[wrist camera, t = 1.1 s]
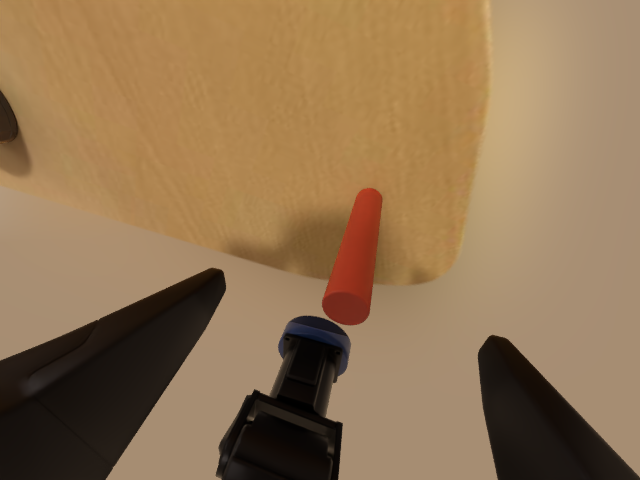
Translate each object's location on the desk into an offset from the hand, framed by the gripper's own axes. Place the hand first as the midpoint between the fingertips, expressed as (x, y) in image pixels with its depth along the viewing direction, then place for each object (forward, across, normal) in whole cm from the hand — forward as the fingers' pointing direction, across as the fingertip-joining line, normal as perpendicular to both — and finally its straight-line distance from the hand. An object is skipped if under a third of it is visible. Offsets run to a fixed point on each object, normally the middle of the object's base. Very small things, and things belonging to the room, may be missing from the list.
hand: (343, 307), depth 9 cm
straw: (+9, 0, 0) cm, 9 cm away
